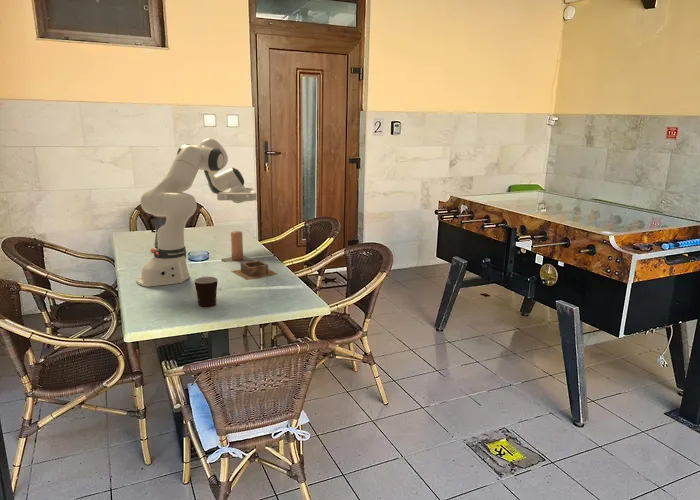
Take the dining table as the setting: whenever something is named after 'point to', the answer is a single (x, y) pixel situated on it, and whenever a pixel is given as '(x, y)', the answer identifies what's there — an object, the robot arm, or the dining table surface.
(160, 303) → the dining table surface
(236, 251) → the brown tall block piece
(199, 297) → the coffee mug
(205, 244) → the dining table surface
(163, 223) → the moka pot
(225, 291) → the dining table surface
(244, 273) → the jug stand
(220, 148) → the robot arm
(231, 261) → the mat
